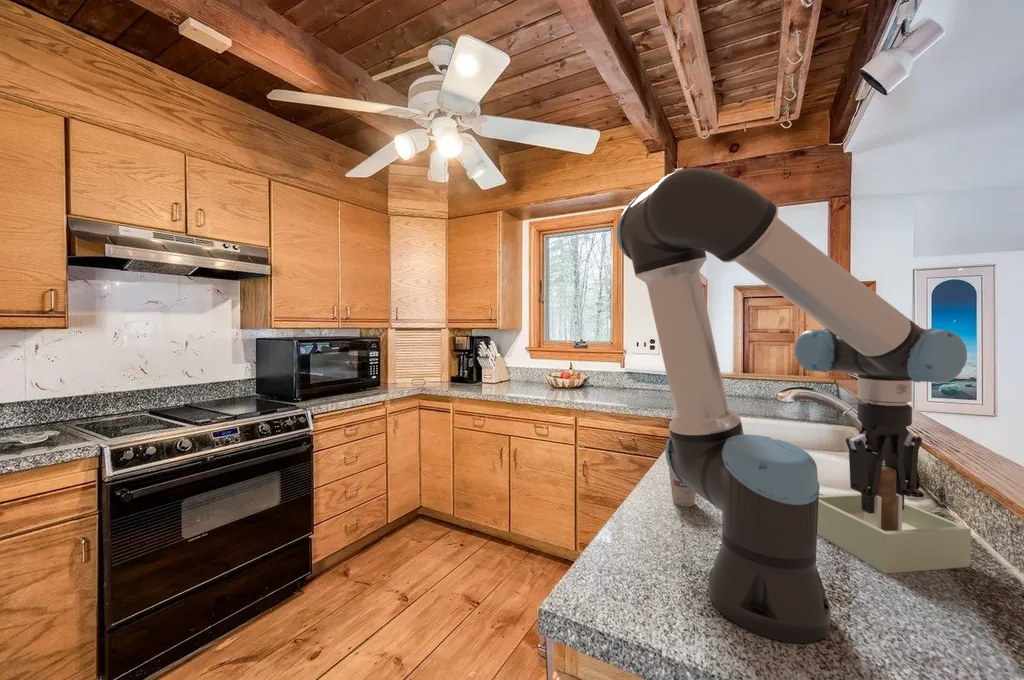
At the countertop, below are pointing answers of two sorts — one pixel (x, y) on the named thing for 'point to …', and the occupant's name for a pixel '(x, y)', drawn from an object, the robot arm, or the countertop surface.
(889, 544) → the peg box
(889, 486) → the peg
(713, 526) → the countertop surface
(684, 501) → the coffee cup
